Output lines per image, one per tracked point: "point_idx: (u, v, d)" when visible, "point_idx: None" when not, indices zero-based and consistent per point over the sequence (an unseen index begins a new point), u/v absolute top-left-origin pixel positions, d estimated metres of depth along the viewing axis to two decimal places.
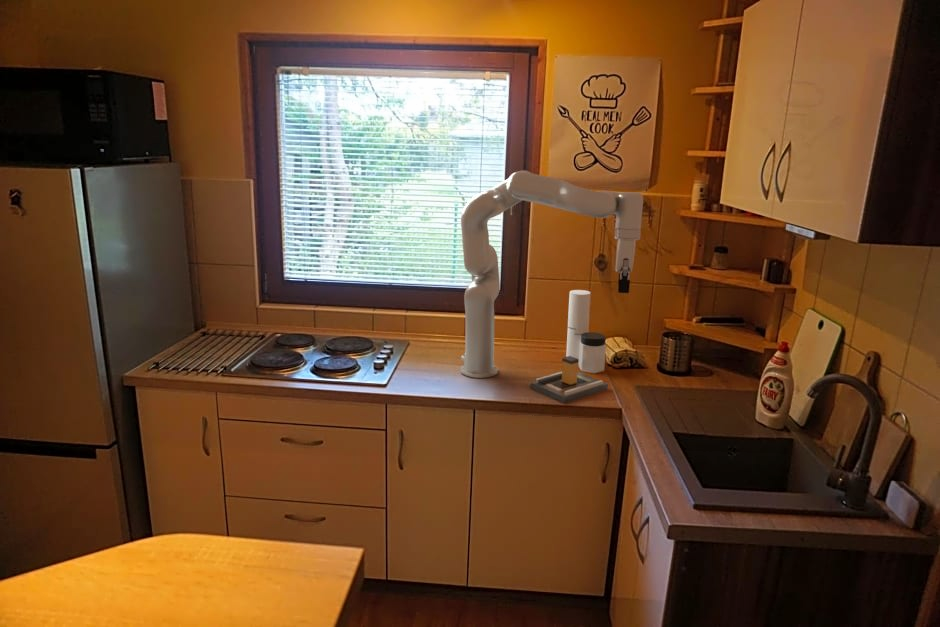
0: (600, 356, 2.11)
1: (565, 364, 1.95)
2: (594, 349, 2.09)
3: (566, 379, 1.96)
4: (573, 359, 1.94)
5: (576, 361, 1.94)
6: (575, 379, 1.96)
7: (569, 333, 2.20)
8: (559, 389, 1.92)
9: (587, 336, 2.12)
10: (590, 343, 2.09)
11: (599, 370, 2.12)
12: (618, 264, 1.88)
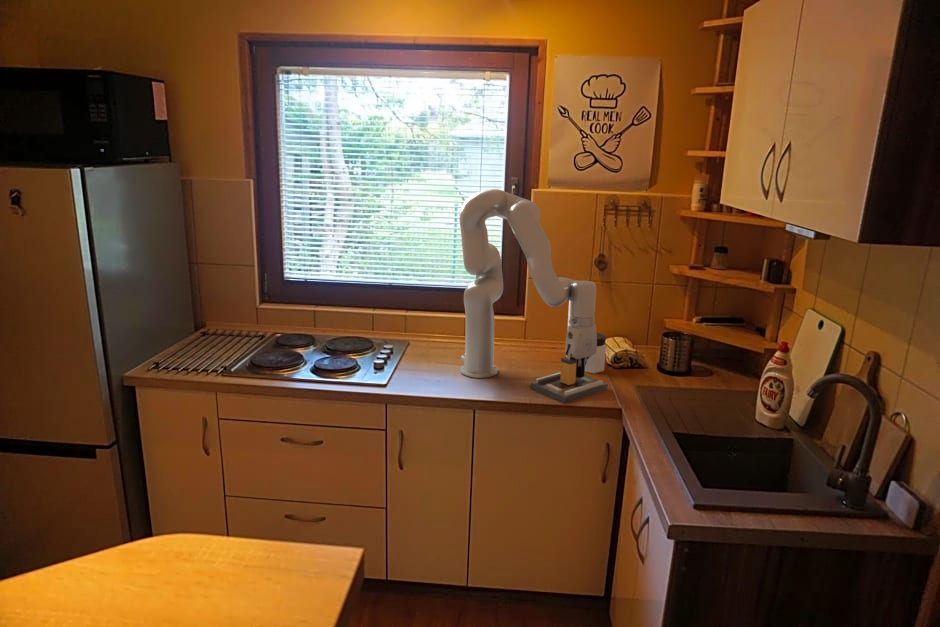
0: (600, 356, 2.11)
1: (564, 364, 1.95)
2: None
3: (564, 379, 1.96)
4: (572, 359, 1.94)
5: (575, 361, 1.94)
6: (574, 379, 1.96)
7: None
8: (559, 389, 1.92)
9: None
10: None
11: (599, 370, 2.12)
12: None
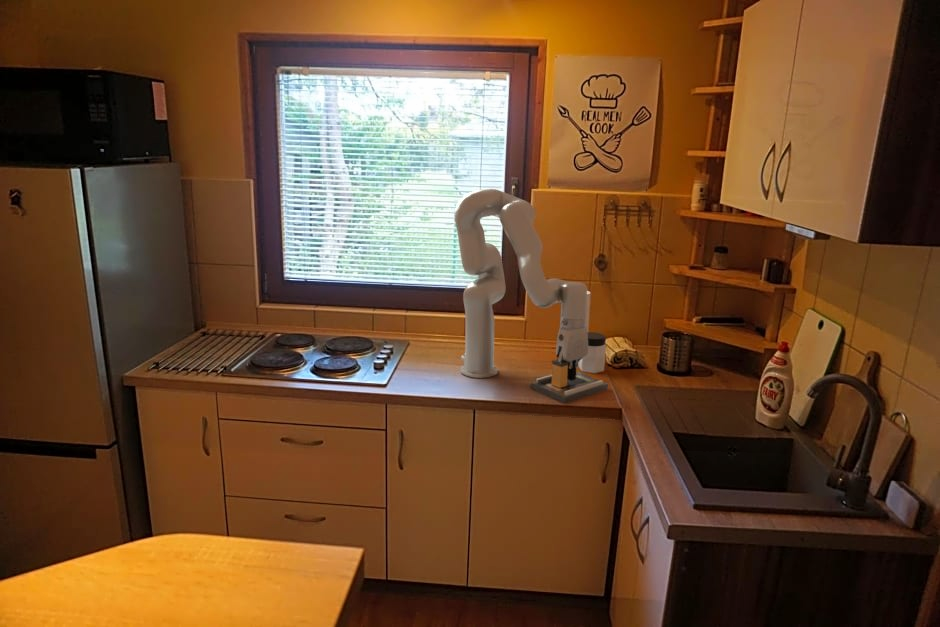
0: (600, 356, 2.11)
1: (555, 367, 1.93)
2: (594, 349, 2.09)
3: (556, 382, 1.93)
4: (563, 362, 1.92)
5: (566, 364, 1.92)
6: (565, 382, 1.93)
7: None
8: (559, 389, 1.92)
9: None
10: (590, 343, 2.09)
11: (599, 370, 2.12)
12: None
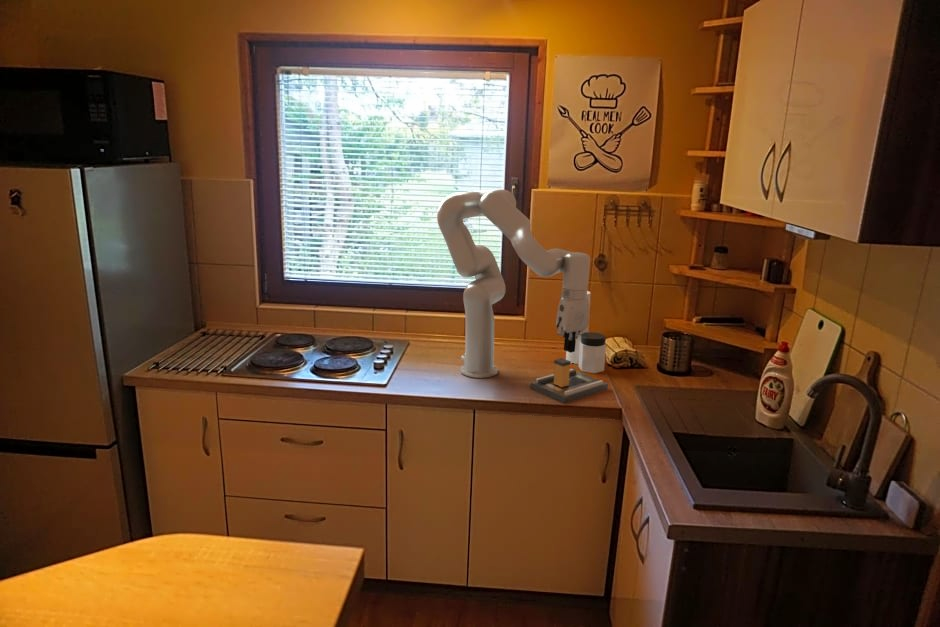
0: (600, 356, 2.11)
1: (557, 366, 1.93)
2: (594, 349, 2.09)
3: (558, 381, 1.94)
4: (565, 361, 1.92)
5: (568, 363, 1.92)
6: (567, 381, 1.94)
7: None
8: (559, 389, 1.92)
9: (587, 336, 2.11)
10: (590, 343, 2.09)
11: (599, 370, 2.12)
12: None
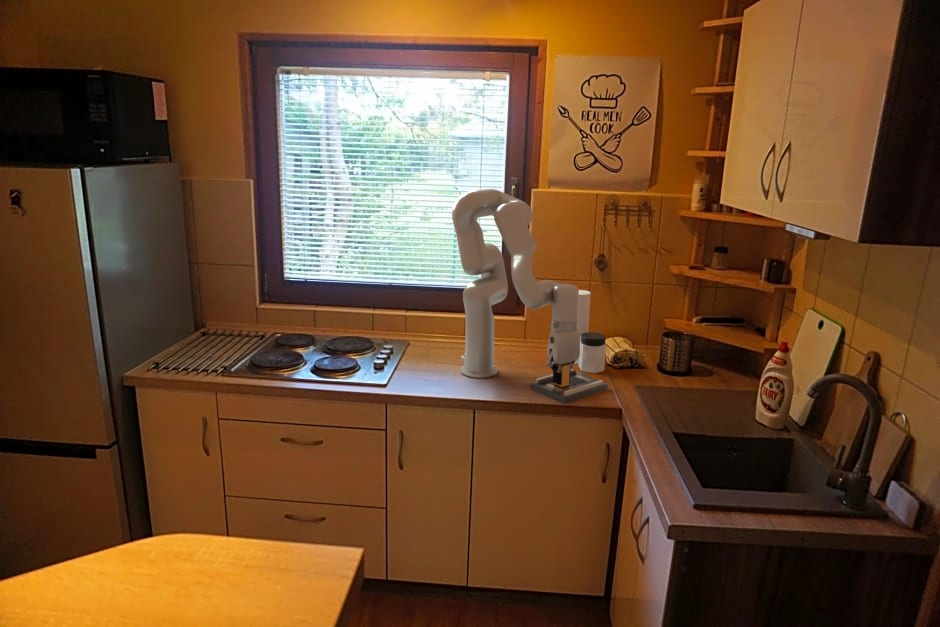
0: (600, 356, 2.11)
1: None
2: (594, 349, 2.09)
3: None
4: None
5: (568, 363, 1.92)
6: (567, 381, 1.94)
7: None
8: (559, 389, 1.92)
9: (587, 336, 2.12)
10: (590, 343, 2.09)
11: (599, 370, 2.12)
12: None
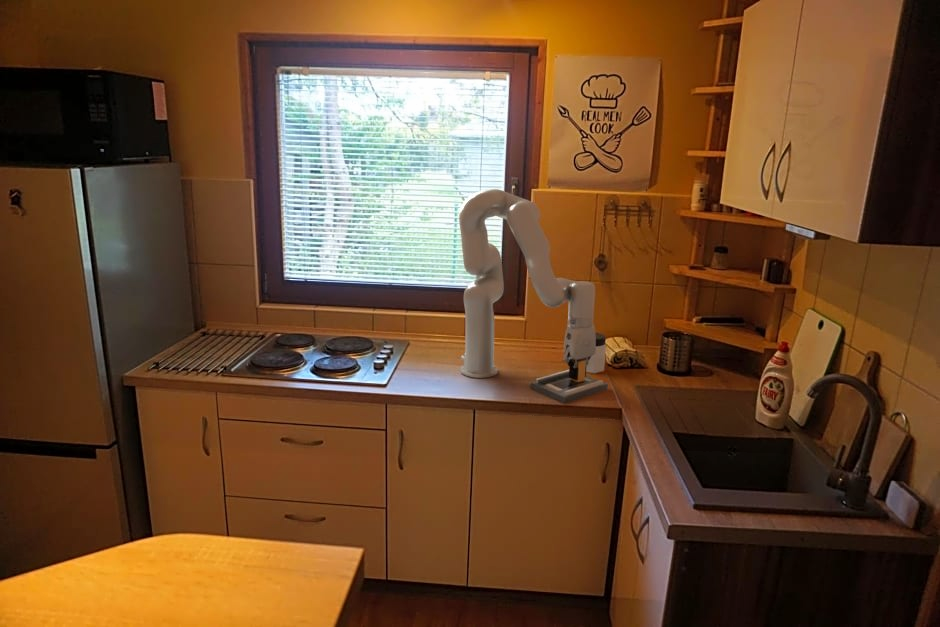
0: (600, 356, 2.11)
1: None
2: None
3: None
4: None
5: (584, 359, 1.96)
6: (583, 377, 1.98)
7: None
8: (559, 389, 1.92)
9: None
10: None
11: (599, 370, 2.12)
12: None
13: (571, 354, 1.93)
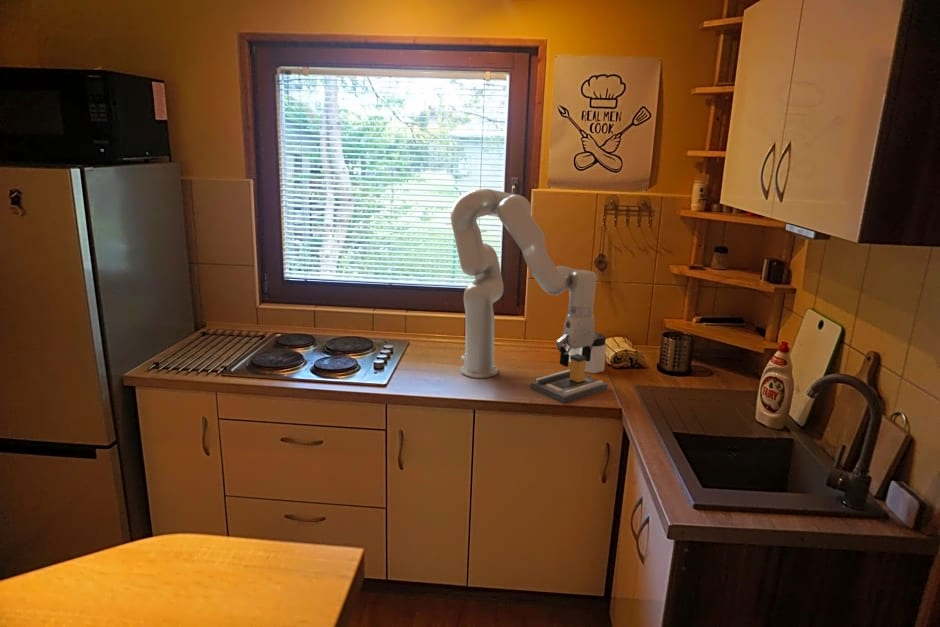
0: (600, 356, 2.11)
1: (573, 362, 1.97)
2: (594, 349, 2.09)
3: (574, 377, 1.98)
4: (581, 357, 1.96)
5: (584, 359, 1.96)
6: (583, 377, 1.98)
7: None
8: (559, 389, 1.92)
9: None
10: None
11: (599, 370, 2.12)
12: None
13: (569, 343, 1.92)
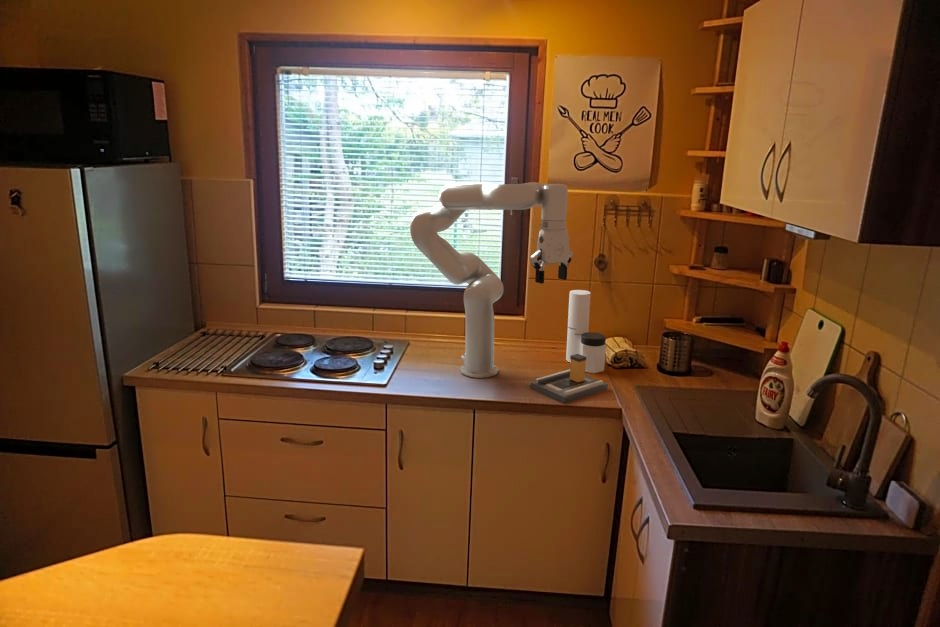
0: (600, 356, 2.11)
1: (573, 362, 1.97)
2: (594, 349, 2.09)
3: (574, 377, 1.98)
4: (581, 357, 1.96)
5: (584, 359, 1.96)
6: (583, 377, 1.98)
7: (569, 333, 2.20)
8: (559, 389, 1.92)
9: (587, 336, 2.11)
10: (590, 343, 2.09)
11: (599, 370, 2.12)
12: None
13: (543, 258, 1.89)
